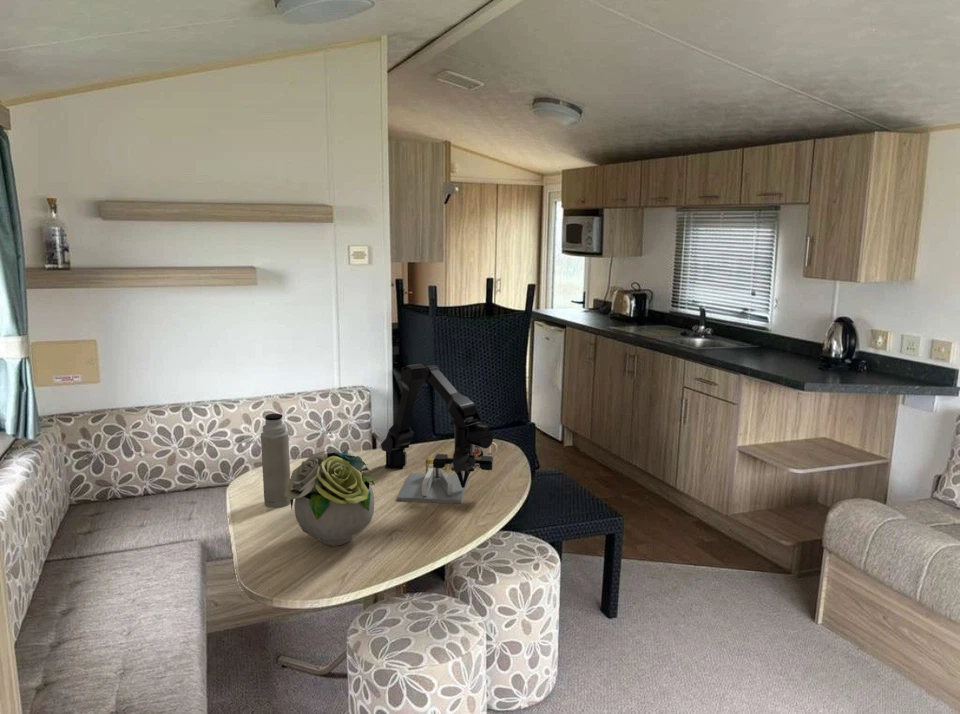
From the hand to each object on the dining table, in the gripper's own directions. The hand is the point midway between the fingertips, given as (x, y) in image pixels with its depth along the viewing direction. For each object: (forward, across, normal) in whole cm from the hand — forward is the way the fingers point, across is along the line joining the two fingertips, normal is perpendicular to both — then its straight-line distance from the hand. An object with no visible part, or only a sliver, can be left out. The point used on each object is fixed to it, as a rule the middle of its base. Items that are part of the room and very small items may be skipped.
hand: (463, 487), depth 220 cm
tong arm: (+1, -6, +2) cm, 7 cm away
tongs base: (+2, -10, +2) cm, 10 cm away
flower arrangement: (+2, -31, -36) cm, 47 cm away
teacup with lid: (+2, +3, +32) cm, 32 cm away
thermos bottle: (+2, -56, -14) cm, 57 cm away
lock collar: (+1, -10, +10) cm, 15 cm away
